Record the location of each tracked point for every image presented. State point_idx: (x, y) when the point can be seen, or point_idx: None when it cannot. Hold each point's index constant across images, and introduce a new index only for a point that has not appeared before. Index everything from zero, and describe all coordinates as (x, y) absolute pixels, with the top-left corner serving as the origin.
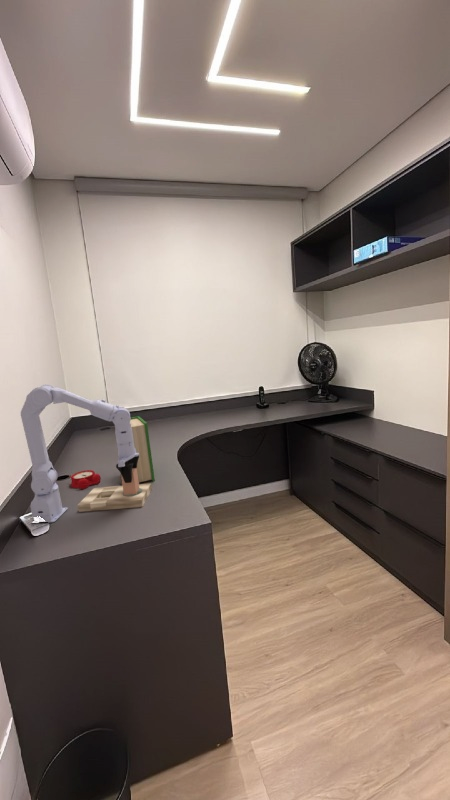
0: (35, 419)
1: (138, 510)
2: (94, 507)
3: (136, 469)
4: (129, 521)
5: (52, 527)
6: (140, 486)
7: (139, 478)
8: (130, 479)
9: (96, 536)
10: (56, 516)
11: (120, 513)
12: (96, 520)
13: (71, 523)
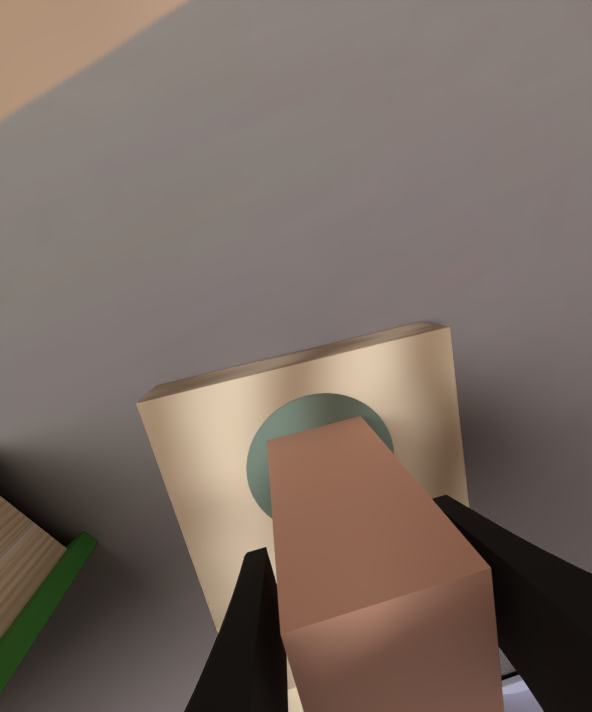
0: None
1: (464, 323)
2: None
3: (295, 606)
4: (581, 310)
5: None
6: (214, 461)
7: (32, 567)
8: (479, 516)
9: None
10: (518, 691)
11: (491, 413)
12: (549, 494)
13: None
